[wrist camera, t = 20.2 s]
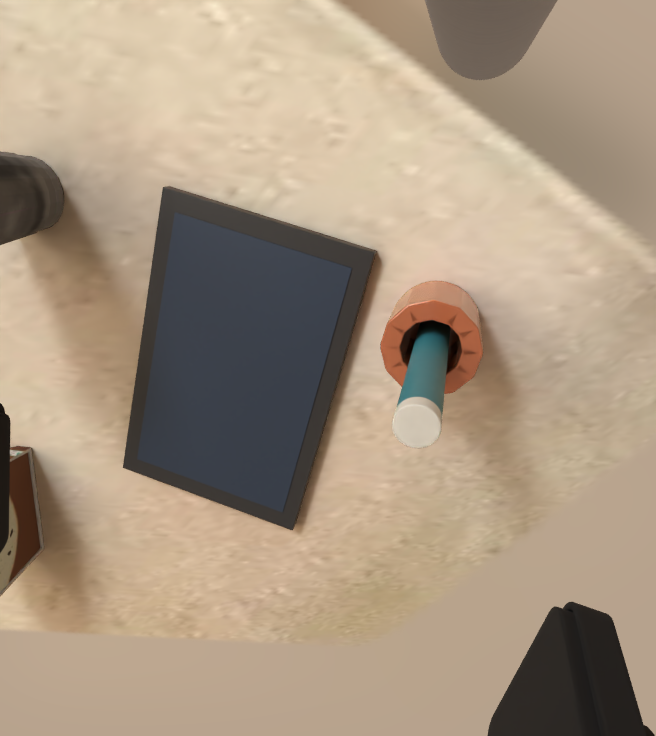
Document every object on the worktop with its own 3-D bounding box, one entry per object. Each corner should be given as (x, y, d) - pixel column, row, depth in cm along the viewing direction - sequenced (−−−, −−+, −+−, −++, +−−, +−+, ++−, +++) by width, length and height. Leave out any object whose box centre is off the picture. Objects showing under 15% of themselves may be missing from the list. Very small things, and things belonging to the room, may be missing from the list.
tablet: (169, 186, 35) (162, 187, 34) (376, 250, 33) (374, 253, 33) (128, 462, 43) (122, 468, 42) (295, 524, 41) (292, 531, 40)
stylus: (424, 309, 34) (400, 397, 22) (455, 319, 33) (448, 414, 21) (414, 338, 34) (385, 439, 22) (444, 348, 34) (432, 455, 22)
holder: (407, 269, 33) (398, 288, 29) (492, 296, 33) (497, 319, 28) (382, 348, 35) (369, 377, 31) (462, 374, 35) (461, 408, 30)
